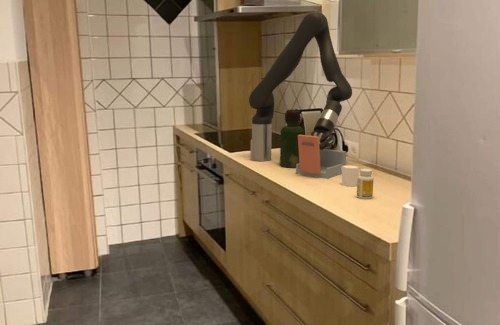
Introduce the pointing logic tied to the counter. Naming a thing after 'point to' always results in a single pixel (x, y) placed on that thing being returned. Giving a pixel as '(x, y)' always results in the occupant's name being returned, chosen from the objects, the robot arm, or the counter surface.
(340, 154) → the tray
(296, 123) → the green water bottle
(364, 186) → the supplement bottle
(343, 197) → the counter surface
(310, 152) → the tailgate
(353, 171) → the tan cylinder
